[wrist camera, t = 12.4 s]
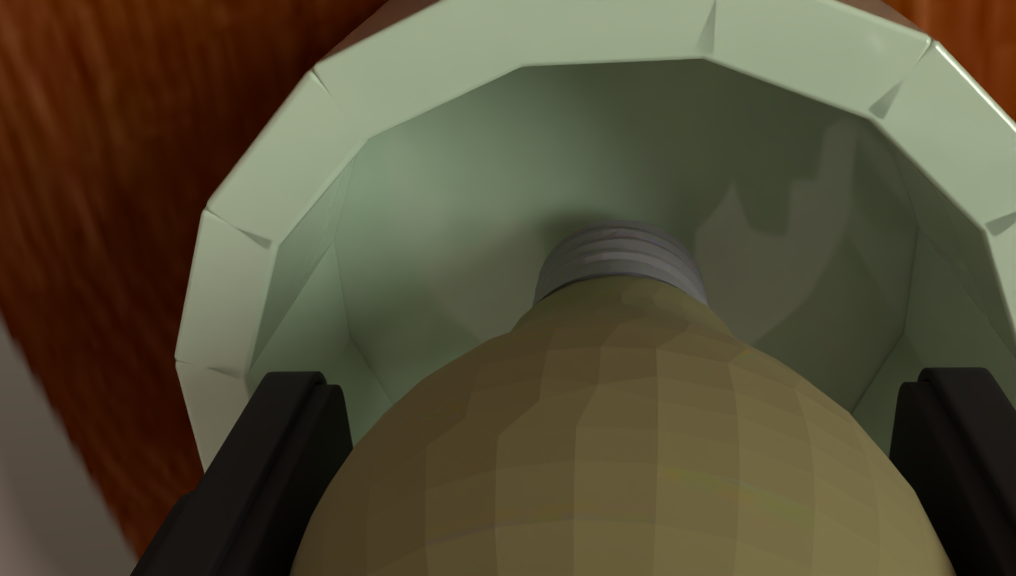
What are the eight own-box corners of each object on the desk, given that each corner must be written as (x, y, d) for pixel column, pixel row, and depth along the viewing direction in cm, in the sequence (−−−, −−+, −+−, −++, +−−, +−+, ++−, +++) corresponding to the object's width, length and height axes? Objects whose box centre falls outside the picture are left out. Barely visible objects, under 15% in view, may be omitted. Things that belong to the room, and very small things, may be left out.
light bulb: (802, 425, 15) (1041, 1315, 6) (462, 425, 16) (246, 1212, 7) (826, 83, 12) (1286, 763, 4) (419, 105, 13) (-4, 705, 4)
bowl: (345, 516, 18) (269, 721, 14) (236, -61, 13) (71, -4, 9) (916, 525, 16) (1013, 753, 13) (1022, -111, 12) (1231, -70, 8)
